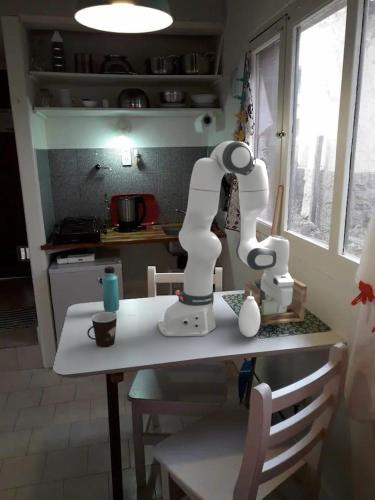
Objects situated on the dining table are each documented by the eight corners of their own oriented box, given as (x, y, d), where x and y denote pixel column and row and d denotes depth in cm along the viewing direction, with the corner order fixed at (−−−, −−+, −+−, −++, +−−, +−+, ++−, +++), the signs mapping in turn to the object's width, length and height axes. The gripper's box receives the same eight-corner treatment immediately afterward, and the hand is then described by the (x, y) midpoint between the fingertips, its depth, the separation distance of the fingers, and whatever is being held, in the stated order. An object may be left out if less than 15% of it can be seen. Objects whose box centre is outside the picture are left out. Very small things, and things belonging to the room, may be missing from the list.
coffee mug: (112, 335, 140) (111, 310, 138) (121, 345, 133) (120, 318, 131) (81, 343, 134) (79, 317, 132) (89, 354, 127) (87, 326, 125)
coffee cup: (257, 304, 170) (258, 283, 168) (250, 298, 178) (251, 278, 175) (274, 303, 172) (275, 282, 169) (267, 297, 179) (268, 277, 177)
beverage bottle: (122, 313, 159) (120, 267, 155) (107, 317, 156) (105, 270, 151) (115, 308, 165) (113, 264, 160) (101, 311, 161) (98, 266, 156)
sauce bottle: (236, 331, 144) (238, 286, 140) (257, 331, 145) (259, 286, 140) (239, 341, 137) (241, 294, 133) (261, 341, 137) (264, 294, 133)
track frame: (253, 326, 149) (255, 290, 145) (243, 316, 158) (245, 282, 154) (303, 321, 154) (307, 286, 150) (291, 311, 163) (294, 278, 160)
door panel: (264, 319, 153) (265, 303, 151) (260, 316, 156) (261, 300, 154) (286, 317, 155) (288, 301, 153) (283, 314, 158) (284, 298, 156)
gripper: (258, 268, 160) (256, 299, 164) (281, 284, 141) (278, 318, 144) (271, 267, 162) (269, 298, 165) (296, 282, 143) (293, 317, 146)
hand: (273, 307), depth 155 cm, fingers open, 8 cm apart
